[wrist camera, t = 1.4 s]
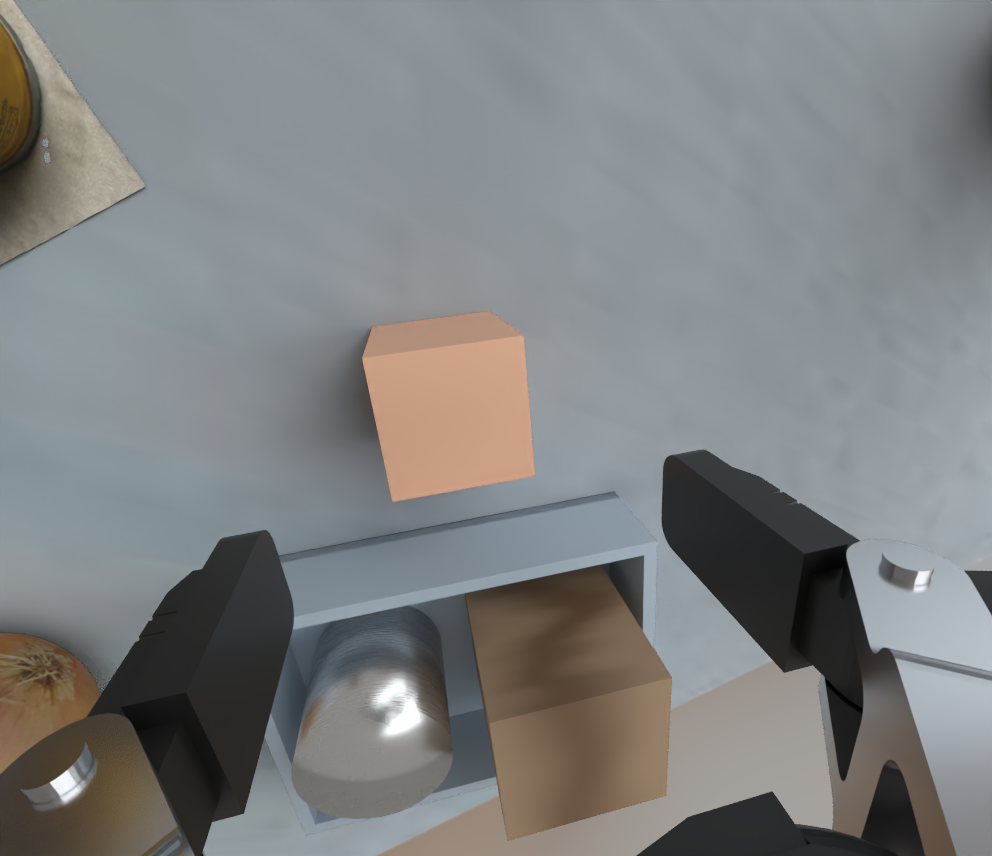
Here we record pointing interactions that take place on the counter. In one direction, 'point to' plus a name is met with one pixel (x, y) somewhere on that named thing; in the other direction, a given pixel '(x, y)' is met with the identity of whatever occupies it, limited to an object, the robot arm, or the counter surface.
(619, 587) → the tote
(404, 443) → the peach rectangular block
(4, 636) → the onion
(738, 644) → the counter surface
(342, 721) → the grey tin
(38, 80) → the condiment
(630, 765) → the walnut block
